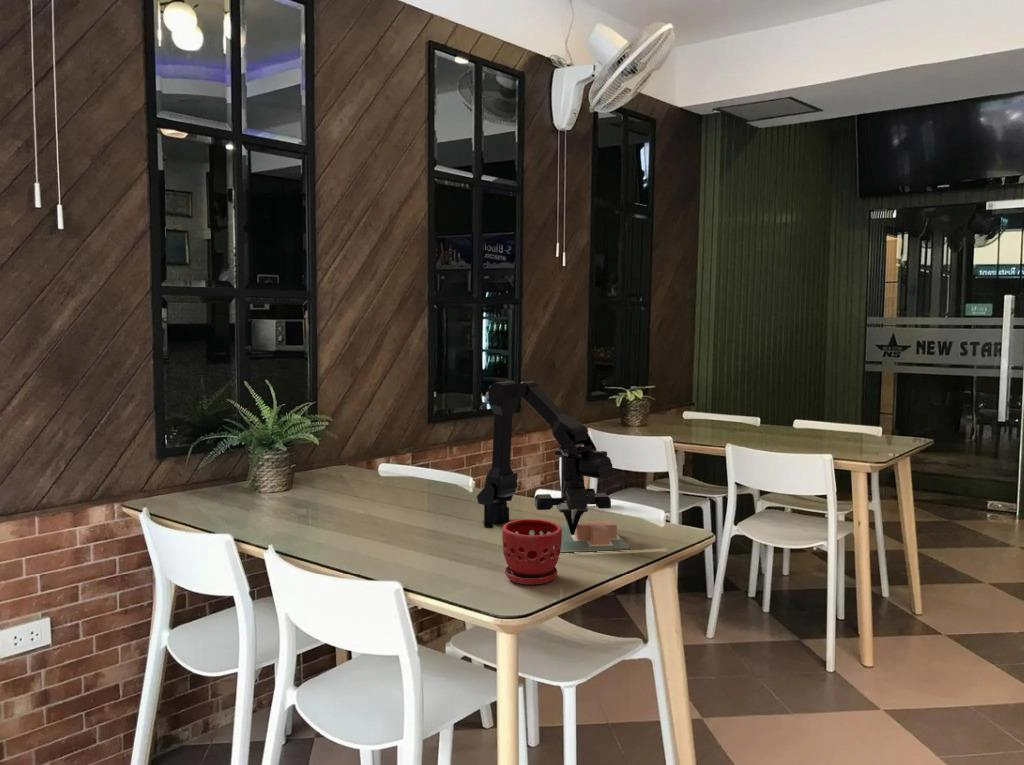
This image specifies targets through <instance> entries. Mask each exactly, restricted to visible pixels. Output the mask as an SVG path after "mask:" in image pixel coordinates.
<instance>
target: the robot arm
mask: <svg viewBox="0 0 1024 765" xmlns="http://www.w3.org/2000/svg"><path fill="white" fill-rule="evenodd" d="M487 392H488V393H487V394H488V403H489V407H490V408H491V411H492V413H493V432H492V434H493V437H492V439H493V440H492V458H491V467H490V469H489V471H488V473H487V474H486V476H485V481H484V487H483V488H482V489H481V490H480V492H479V493H478V494H477V496H476V499H477V502H478V504H480V505H483V512H482V513H483V519H482V524H483V527H484V528H493V527H494V525H502V524H503V525H504V524H506V523H508V522H510V507H509V506H508V503H507V502H509V501H511V502H512V499H513V496H514V494H515V492H516V490H517V488H518V477H519V476H518V475H519V474H518V473H517V472H514V471H513V469H512V467H511V460H512V459H511V458H512V457H511V456H512V434H513V433H512V432H513V415H514V414H515V411H516V409H517V408H518V406H519V403H520V398H522V399H524V400H525V402H527V403H528V405H529V406H530V407H532V409H533V410H534V411H535V412H536V413H537V414H538V415H539V416H540V417H541V418H542V419H543V420H544V421H545V422H546V423H547V424H548V425H549V427H550V428H551V432H552V436H553V438H554V439H555V441H556V442H557V444H558V446H559V448H557V449H556V451H554V455H556V456H560V457H561V484H560V496H561V497H552V495H551V493H546V494H545V493H544V494H543V493H542V494H541V493H540V494H539V493H537V494H536V495H535V496H534V507H535V508H536V510H538V511H550V510H551V509H553V507H554V506H556V508H557V510H558V512H560V513H563V514H562V515H564V517H565V518H564V519H565V521H566V524H568V527H569V531H570V534H571V535H574V533H575V530H576V527H577V524H578V522H580V519H581V518H582V516H583V514H585V513H587V512H588V511H589V509H588V505H595V506H596V507H597V508H598V509H611V508H612V499H611V497H609V495H608V494H607V493H605V492H596V491H595V488H594V487H593V488H586V486H585V477H587V478H593V479H598V480H607V479H608V478H609V477H610V476H611V475H612V472H613V463H612V460H611V458H610V457H609V456H608V451H606V450H601V451H600V450H598V449H597V447H596V445H595V444H594V442H593V440H592V438H591V436H590V434H589V430H588V427H586V425H584V423H582V422H580V421H579V420H577V418H573V417H571V416H569V415H567V414H566V413H565V412H563V411H562V409H561V408H560V407H559V406H558V405H557V404H555V402H554V401H552V399H551V398H550V397H549V396H548V395H547V394H546V393H545V392H544V391H543V390H542V389H541V388H540V387H539V385H538V382H536V381H533V380H528V381H521V382H520V383H517V382H516V381H514V380H506V381H498V382H493V383H492V384H491V385H489V387H488V391H487ZM565 501H566V502H565Z"/></svg>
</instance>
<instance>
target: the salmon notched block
mask: <svg viewBox="0 0 1024 765" xmlns="http://www.w3.org/2000/svg"><path fill="white" fill-rule="evenodd" d="M617 526H618V525H617V523H616V522H615V521H613V520H600V521H579V522H578V524H577V527H576V530H575V536H576V538H577V539H578V540H585V539H590V541H591V542H592V544H593V545H605V544H609V539H613V538H617V533H618V532H617V531H618V527H617Z"/></svg>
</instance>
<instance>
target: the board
mask: <svg viewBox="0 0 1024 765" xmlns="http://www.w3.org/2000/svg"><path fill="white" fill-rule="evenodd" d="M557 524H558V525H559V526H560V527H561V528H562V542H561V550H560V553H569V554H575V553H574V552H593V553H598V552H597V551H617V550H618V551H617V552H620V551H619V550H620V549H622V550H630V551H631V549H630V548H631V547H630V545H628V543H627V542H626V541H625V540H624V538H623V537H622V536H621V535H620V534H619V533H618V532H617V538H613V539H609V544H605V545H593V544H592V542H591V541H590V539H585V540H578V539H577V538H576V536H575V533H574V535H571V534H570V531H569V527H568V524H567V523H565V524H563V523H562V524H559V523H557ZM539 533H540V535H543V532H542V531H540V532H539ZM550 533H551V532H549V531H548V532H547V534H550ZM529 534H530V535H534V534H535V532H534V531H533V530H530V531H529ZM554 547H555V546H554ZM554 547H553V549H554Z"/></svg>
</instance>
